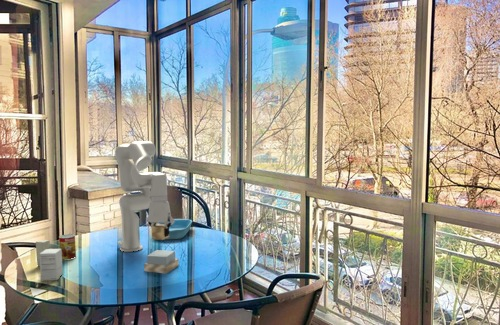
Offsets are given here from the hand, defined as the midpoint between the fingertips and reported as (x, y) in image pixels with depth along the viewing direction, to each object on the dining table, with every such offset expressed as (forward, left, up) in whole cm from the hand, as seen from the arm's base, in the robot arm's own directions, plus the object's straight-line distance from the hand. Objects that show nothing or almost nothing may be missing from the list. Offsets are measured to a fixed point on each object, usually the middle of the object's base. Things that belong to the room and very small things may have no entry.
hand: (160, 235), depth 194 cm
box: (-59, -14, -17) cm, 63 cm away
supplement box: (-42, -26, -17) cm, 52 cm away
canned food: (-57, 0, -17) cm, 60 cm away
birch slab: (0, 0, -17) cm, 17 cm away
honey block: (0, 0, -1) cm, 1 cm away
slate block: (0, 0, -13) cm, 13 cm away
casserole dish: (-28, +62, -17) cm, 70 cm away
